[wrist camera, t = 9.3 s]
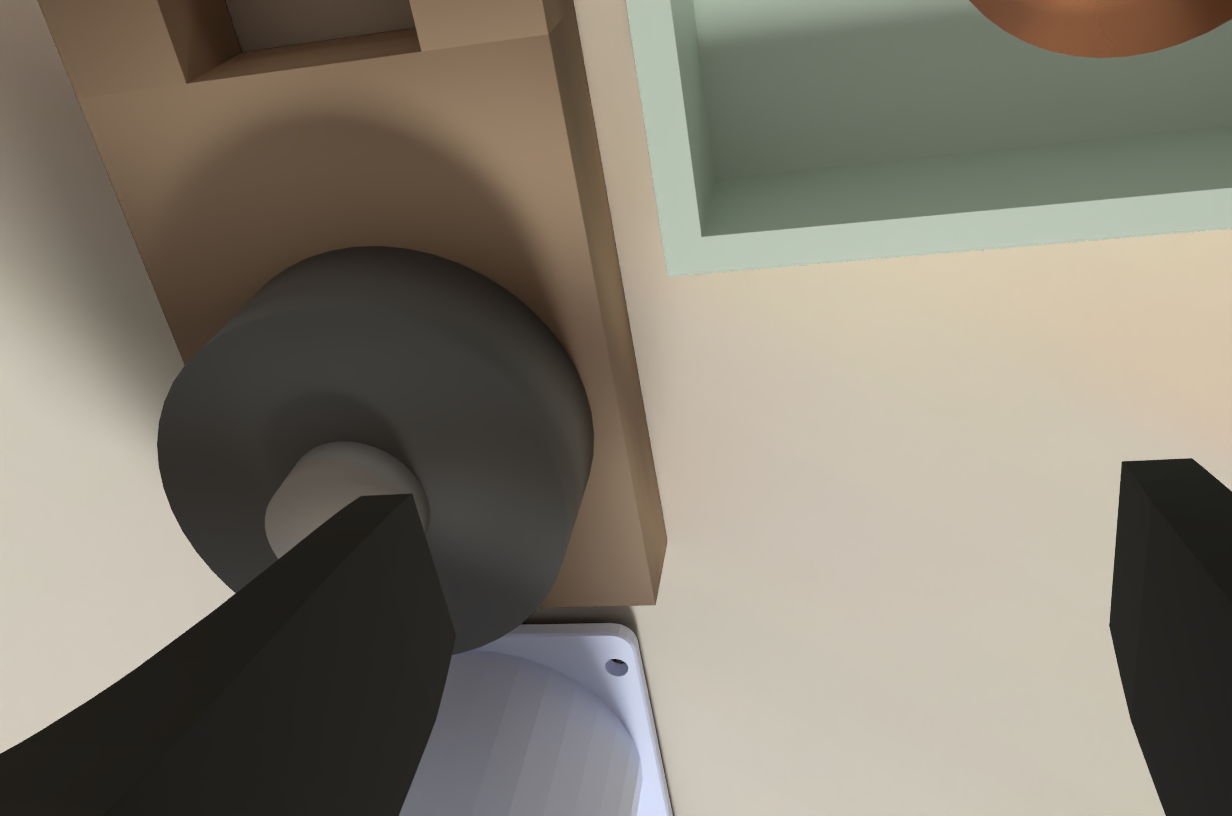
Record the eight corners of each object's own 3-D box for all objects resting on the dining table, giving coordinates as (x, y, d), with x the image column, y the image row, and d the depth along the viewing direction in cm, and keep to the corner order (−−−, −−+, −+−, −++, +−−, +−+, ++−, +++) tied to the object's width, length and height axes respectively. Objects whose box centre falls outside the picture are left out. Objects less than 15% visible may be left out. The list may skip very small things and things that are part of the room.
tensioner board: (667, 542, 24) (629, 742, 19) (320, 553, 25) (208, 739, 21) (478, -544, 15) (319, -669, 10) (-37, -412, 16) (-375, -464, 12)
